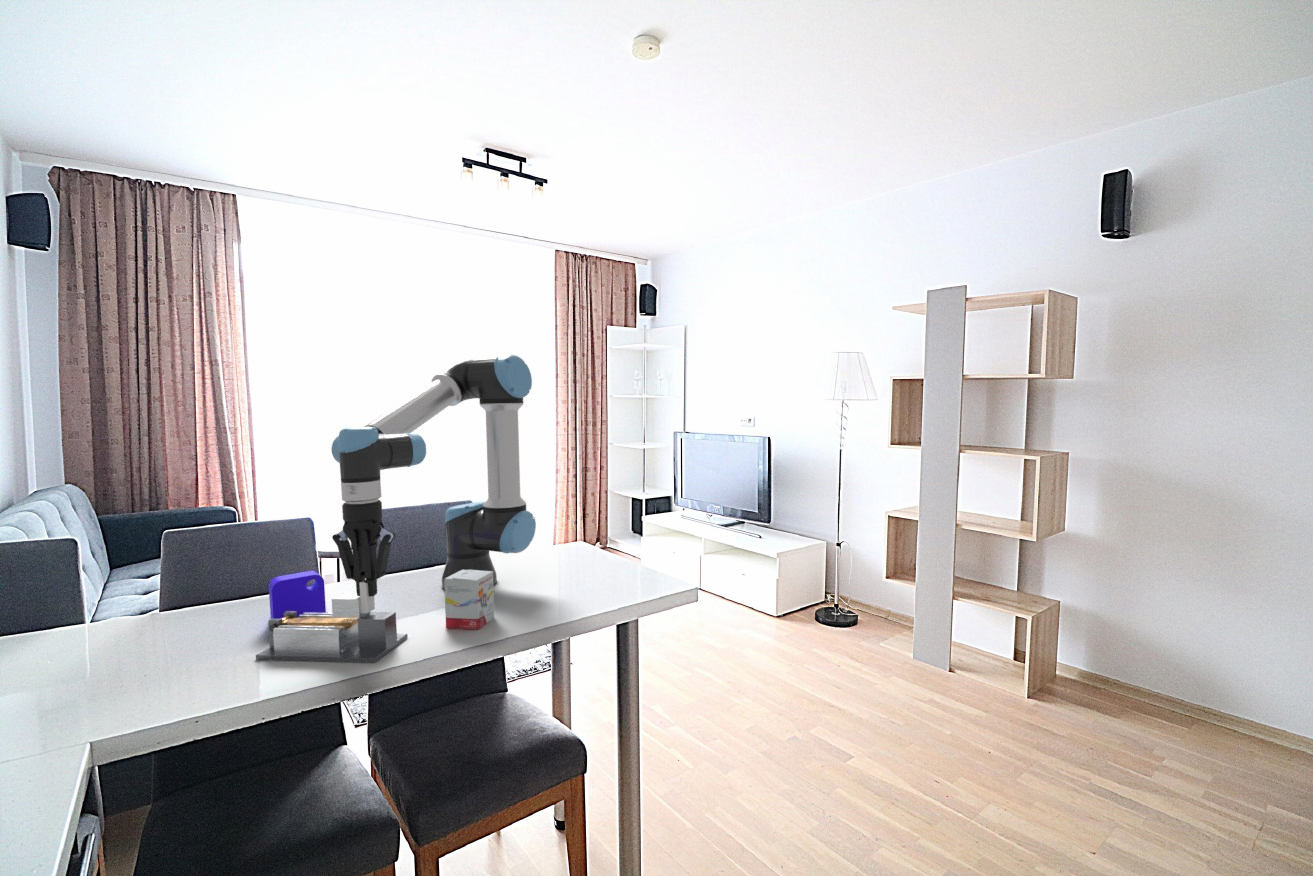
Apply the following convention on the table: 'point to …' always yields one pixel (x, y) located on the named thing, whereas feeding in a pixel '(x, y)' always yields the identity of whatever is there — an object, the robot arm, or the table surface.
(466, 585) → the ink box
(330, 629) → the base
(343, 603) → the white block
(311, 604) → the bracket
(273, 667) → the table surface
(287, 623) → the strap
